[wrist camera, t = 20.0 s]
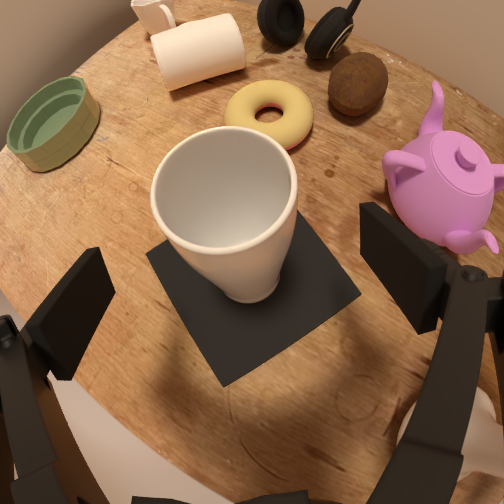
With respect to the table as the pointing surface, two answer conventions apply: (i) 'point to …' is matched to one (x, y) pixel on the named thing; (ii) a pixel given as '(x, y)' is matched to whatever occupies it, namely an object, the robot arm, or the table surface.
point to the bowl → (53, 124)
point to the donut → (272, 95)
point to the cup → (155, 14)
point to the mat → (256, 304)
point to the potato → (357, 83)
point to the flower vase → (478, 439)
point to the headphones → (292, 22)
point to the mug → (199, 50)
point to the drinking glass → (229, 208)
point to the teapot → (444, 184)
